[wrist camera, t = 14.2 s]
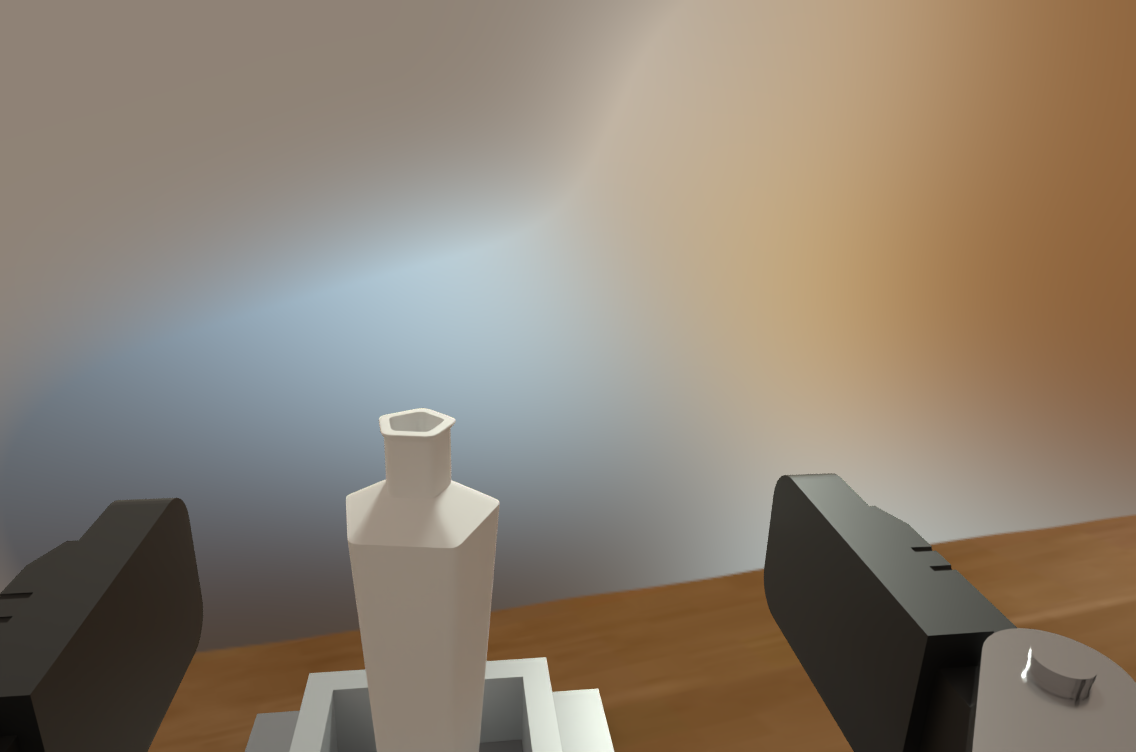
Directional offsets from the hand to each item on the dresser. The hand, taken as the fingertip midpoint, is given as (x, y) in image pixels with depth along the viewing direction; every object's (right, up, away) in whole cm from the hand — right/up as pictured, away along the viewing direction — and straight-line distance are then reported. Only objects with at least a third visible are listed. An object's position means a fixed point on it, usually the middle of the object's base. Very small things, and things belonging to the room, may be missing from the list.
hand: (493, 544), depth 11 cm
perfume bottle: (-4, -13, +16) cm, 21 cm away
